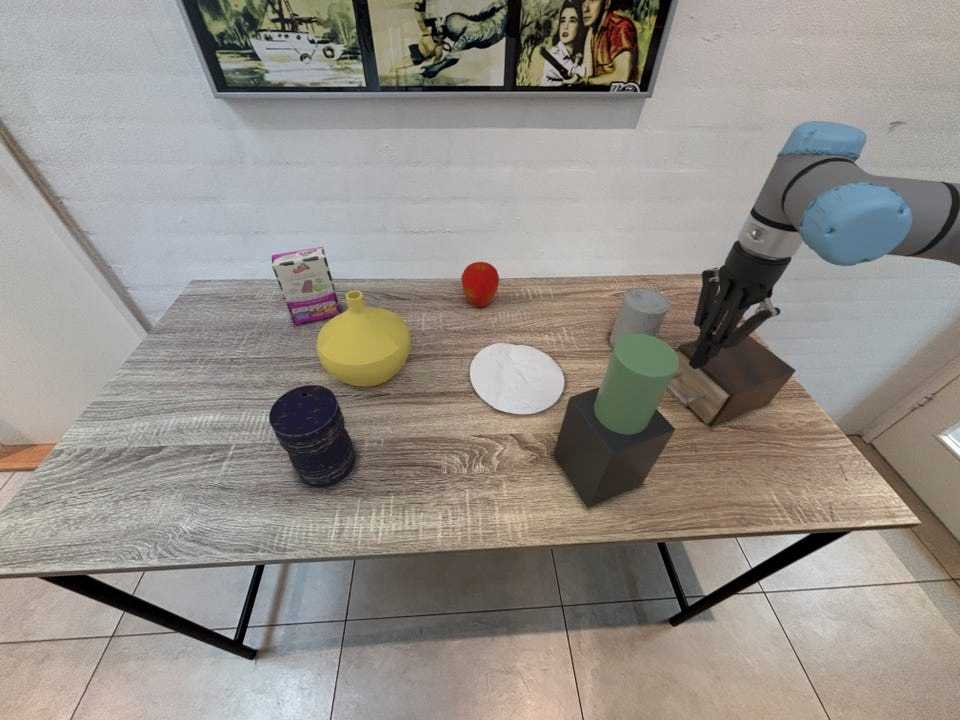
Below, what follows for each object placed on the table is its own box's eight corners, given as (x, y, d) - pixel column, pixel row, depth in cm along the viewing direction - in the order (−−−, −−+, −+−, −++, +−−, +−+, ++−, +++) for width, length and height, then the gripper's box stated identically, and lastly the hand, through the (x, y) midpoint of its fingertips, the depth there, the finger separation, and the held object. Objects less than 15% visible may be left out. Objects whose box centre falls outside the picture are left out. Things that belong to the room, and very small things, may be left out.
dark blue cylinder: (357, 482, 68) (338, 429, 58) (296, 495, 66) (264, 443, 56) (354, 434, 75) (337, 379, 65) (298, 445, 73) (271, 390, 63)
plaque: (453, 361, 89) (453, 357, 88) (528, 335, 97) (529, 330, 96) (500, 431, 78) (501, 427, 76) (582, 395, 85) (583, 390, 84)
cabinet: (711, 427, 79) (735, 394, 72) (662, 378, 88) (679, 345, 81) (769, 403, 84) (796, 370, 77) (717, 359, 92) (737, 326, 86)
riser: (641, 485, 70) (675, 429, 58) (587, 508, 66) (613, 454, 55) (603, 435, 77) (627, 377, 66) (553, 454, 73) (569, 396, 62)
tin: (660, 424, 59) (693, 366, 51) (615, 442, 57) (641, 384, 48) (625, 386, 64) (650, 327, 56) (583, 400, 62) (601, 342, 53)
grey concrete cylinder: (642, 329, 100) (659, 287, 91) (657, 356, 93) (677, 313, 84) (604, 330, 99) (618, 287, 90) (616, 357, 92) (632, 314, 84)
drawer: (685, 432, 77) (702, 406, 71) (641, 386, 85) (653, 359, 79) (760, 402, 83) (781, 375, 77) (712, 361, 91) (729, 334, 85)
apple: (495, 292, 109) (498, 252, 100) (499, 313, 102) (502, 272, 94) (460, 293, 108) (460, 252, 100) (462, 314, 102) (462, 273, 93)
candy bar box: (339, 304, 103) (323, 245, 92) (342, 316, 100) (326, 256, 88) (292, 313, 100) (270, 253, 89) (294, 326, 97) (271, 265, 85)
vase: (415, 339, 95) (407, 267, 81) (411, 399, 82) (401, 326, 68) (334, 341, 93) (313, 268, 80) (318, 403, 80) (288, 328, 67)
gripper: (709, 231, 61) (656, 347, 77) (786, 277, 52) (708, 396, 69) (745, 223, 63) (686, 337, 80) (825, 265, 55) (740, 383, 71)
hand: (697, 364), depth 74 cm, fingers closed
